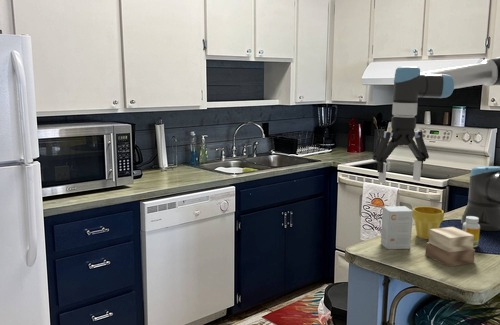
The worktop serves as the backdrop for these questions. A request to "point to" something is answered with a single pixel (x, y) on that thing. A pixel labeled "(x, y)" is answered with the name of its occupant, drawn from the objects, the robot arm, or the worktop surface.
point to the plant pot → (427, 220)
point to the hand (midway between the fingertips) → (399, 181)
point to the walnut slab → (449, 255)
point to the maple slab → (451, 239)
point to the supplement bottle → (472, 228)
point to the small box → (396, 227)
